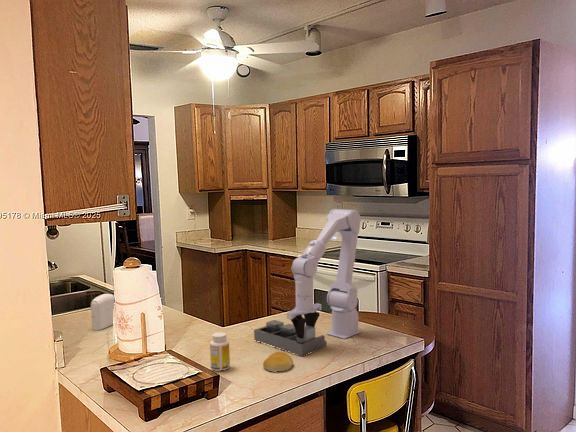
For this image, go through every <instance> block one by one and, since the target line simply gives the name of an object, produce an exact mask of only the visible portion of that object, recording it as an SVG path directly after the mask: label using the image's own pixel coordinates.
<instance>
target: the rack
mask: <svg viewBox="0 0 576 432" xmlns="http://www.w3.org/2000/svg"><path fill="white" fill-rule="evenodd" d="M253 336H254V340H256V341H260V342H263V343H266V344H269V345H272V346H275V347H278V348H281V349H284V350H286V351H290V352H292V353H295V354H298V355H301V356H303V355H305V356H307V355H306V354H308V353H310V352H313V351H315V352H317V351H316V350H318V351H320V350H322V349H321V348H323V347H325V348H327V347H326V346H328V345H327V340H325V338H326V336H325V335H324V334H321V335H319V336H315V338H313V339H310V340H308V341H305V342H302V343H300V342H297V334H296V330H295V327H294V325H293V323H286V324H285V323H284V321H281V320H276V319H273V320H270V321H266V322H265V326H262V327H258V328H255V329H254V330H253ZM254 340H253V341H254ZM319 349H320V350H319ZM323 349H324V348H323ZM292 353H291V354H292ZM313 353H314V352H313ZM295 354H294V355H295ZM310 354H311V353H310ZM298 355H297V356H298ZM308 355H309V354H308ZM301 356H300V357H301ZM303 357H304V356H303Z"/></svg>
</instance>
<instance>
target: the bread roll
mask: <svg viewBox="0 0 576 432" xmlns="http://www.w3.org/2000/svg"><path fill="white" fill-rule="evenodd" d="M293 365H294V360H293V358H292V356H291V355H290V354H289V353H287V352H284V351H283V352H282V351H275V352H273V353H271V354H270V355H269V356H268V357H267V358H266V359H265V360H264V361H263V363H262V366H263V368H264V369H265V370H266V369H267V370H266V371H268V370H269V371H268V372H270V371H284V372H286V371H285V370H287V371H289V370H290V369H291V368H292V367H293ZM291 366H292V367H291ZM288 369H289V370H288Z"/></svg>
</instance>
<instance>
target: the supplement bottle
mask: <svg viewBox="0 0 576 432" xmlns="http://www.w3.org/2000/svg"><path fill="white" fill-rule="evenodd" d="M209 349H210V352H209V353H210V354H209V355H210V368H211V370H213V371H214V370H215V371H216V372H222V371H221V370H224V371H227V370H228V369H229V368H230V366H231V363H230V361H231V357H230V342H229V339H227V334H226V332H214V333H213V334H212V340H211V341H210V342H209ZM226 369H227V370H226ZM215 371H214V372H215Z"/></svg>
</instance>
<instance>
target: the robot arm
mask: <svg viewBox="0 0 576 432" xmlns="http://www.w3.org/2000/svg"><path fill="white" fill-rule="evenodd" d="M361 221H362V217H361V215H360V213H359V211H358V210H356V209H344V208H343V209H341V208H339V209H338V208H333V209H330V211H329V213H328V214H327V216H326V223H325V225H324V226H323V228H322V229H321V231H320V233H319V235H318V237H317V238H316V239H313V240H311V241H309V243H308V245H307V247H306V248H305V250H304V251H303V252H302V253H301V255H300V256H298V257H296V258H295V259H294V260H292V264H291V267H290V271H291V272H292V274H293V279H294V280H295V281H294V283H295V285H294V287H295V289H294V290H295V307H294V308H293V309H291V310H290V311H287V312H286V318H287V319H289V320H290V321H291V324H292V325H294V327H295V330H296V334H297V337H298V338H301V339H302V338H303V337H304V326H305V325H307V326H311V327H315V328H316V323H317V321H318V320H319V317H320V312H317V311H322V309H323V307H322V304H321V303H318V302H317V303H314V275H315V274H316V273H317V271H318V266H319V261H320V260H321V258H322V257H323V255H324V254H325V253H326V251H327V247H326V246H327V244H328V243H329V242H330V241H331V239H332V238H333V237H334V236H335V235H336V233H337V232H338V233H339V234H340V235H341V245H340V253H339V259H338V266H337V267H338V268H337V273H336V281H334V282H333V283H331V284H330V285H329V289H328V292H327V295H326V303H327V305H328V306H330V307H329V309H330V310H331V327H332V328H331V331H329V332H327V333H326V334H327V335H329V336H332V337H337V338H340V339H348V338H350V337H352V336H355V335H357V334H360V333H361V330H359V312H358V311H357V306H358V302H359V301H358V300H359V299H358V289H357V287H356V286H355V285H354V284H353V282H352V281H353V275H354V266H355V260H356V252H357V245H358V237H359V234H360V228H361V227H360V226H361ZM303 316H304V317H303Z"/></svg>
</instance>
